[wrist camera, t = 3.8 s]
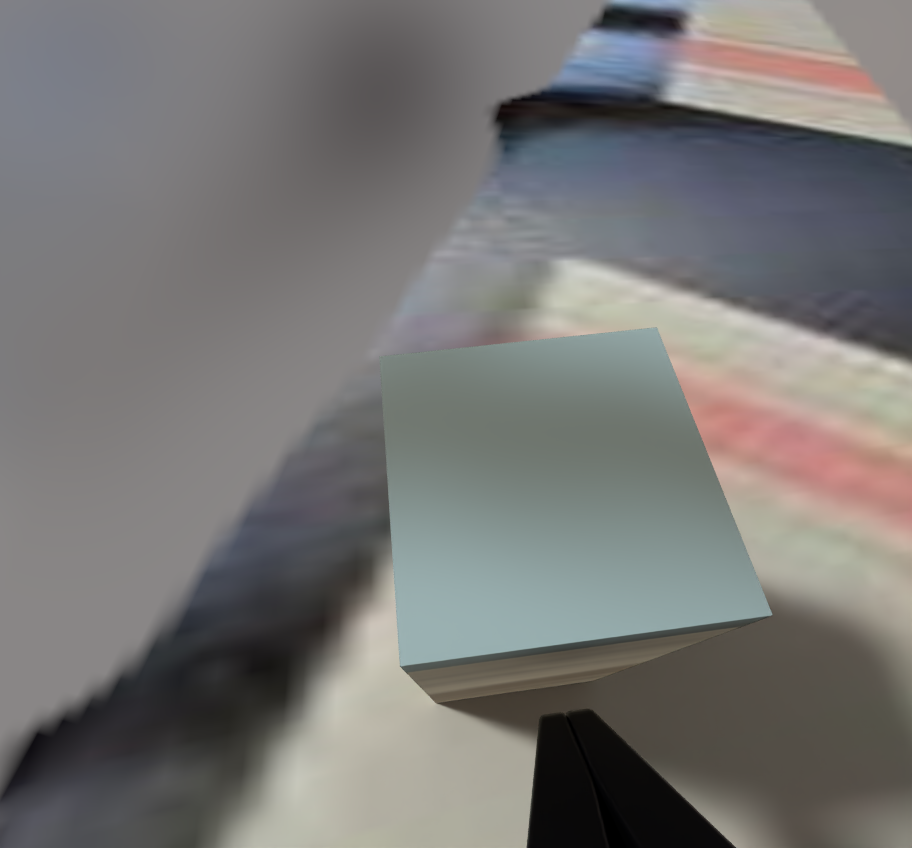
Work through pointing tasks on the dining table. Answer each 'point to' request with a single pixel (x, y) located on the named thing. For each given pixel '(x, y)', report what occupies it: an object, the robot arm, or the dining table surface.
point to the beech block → (553, 515)
